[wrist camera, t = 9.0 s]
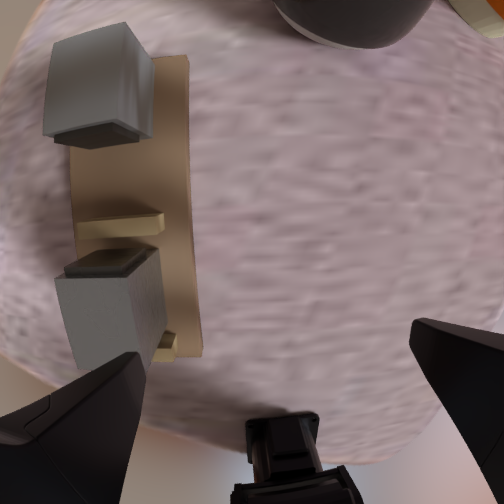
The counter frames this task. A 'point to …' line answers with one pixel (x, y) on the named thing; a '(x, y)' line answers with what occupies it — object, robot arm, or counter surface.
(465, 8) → the reusable coffee cup
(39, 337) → the counter surface
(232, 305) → the counter surface
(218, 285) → the counter surface
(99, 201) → the rail
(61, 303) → the block
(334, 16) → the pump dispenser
